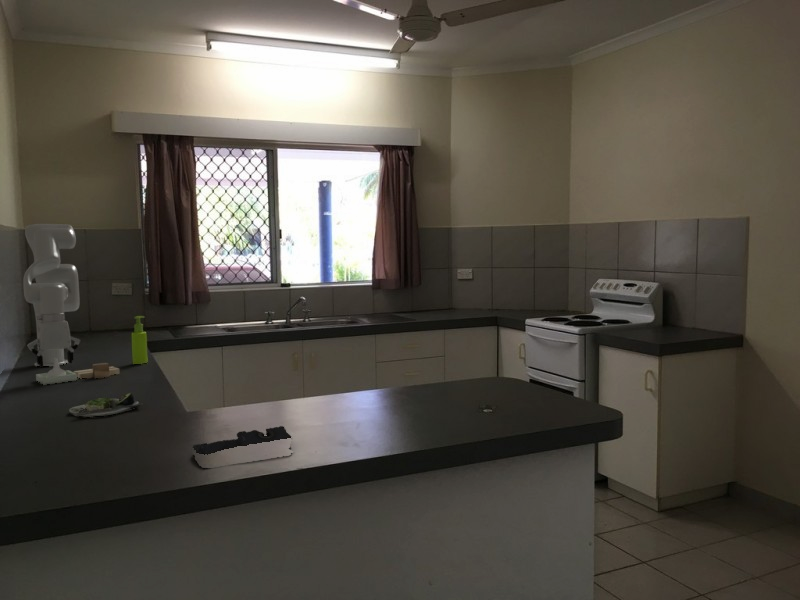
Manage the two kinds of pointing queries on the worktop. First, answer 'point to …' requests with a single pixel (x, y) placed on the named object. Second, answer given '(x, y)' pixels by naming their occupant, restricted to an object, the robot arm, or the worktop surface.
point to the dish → (56, 378)
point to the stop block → (100, 370)
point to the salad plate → (105, 406)
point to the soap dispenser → (139, 343)
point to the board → (89, 372)
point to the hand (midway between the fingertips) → (55, 364)
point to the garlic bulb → (56, 370)
